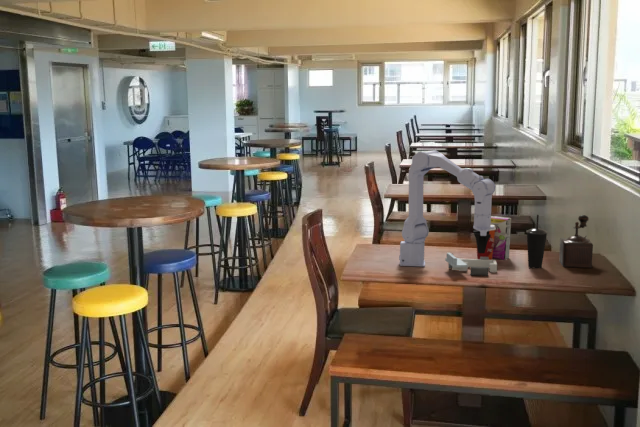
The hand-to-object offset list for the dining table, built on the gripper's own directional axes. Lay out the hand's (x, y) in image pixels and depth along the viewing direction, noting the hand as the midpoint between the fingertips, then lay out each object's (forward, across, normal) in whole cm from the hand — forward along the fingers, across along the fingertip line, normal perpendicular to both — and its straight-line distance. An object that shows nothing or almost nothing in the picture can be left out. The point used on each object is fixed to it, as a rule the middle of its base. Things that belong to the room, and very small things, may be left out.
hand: (481, 251), depth 236 cm
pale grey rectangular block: (+9, +12, +2) cm, 16 cm away
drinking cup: (+10, +19, -22) cm, 30 cm away
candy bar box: (+10, +32, -8) cm, 34 cm away
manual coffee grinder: (+10, +28, -38) cm, 48 cm away
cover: (+6, +6, +8) cm, 12 cm away
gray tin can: (+9, +5, 0) cm, 10 cm away
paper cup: (+10, +27, -4) cm, 29 cm away
